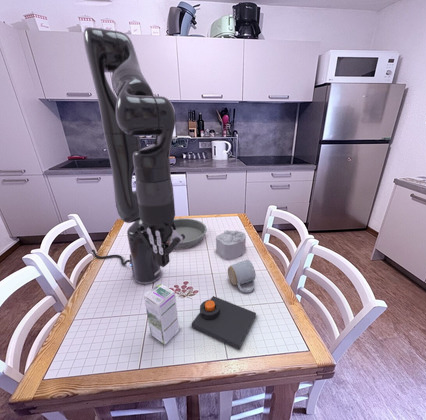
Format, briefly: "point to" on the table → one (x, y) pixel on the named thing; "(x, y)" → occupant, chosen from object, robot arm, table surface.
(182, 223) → the cake pan
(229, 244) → the lumpy-topped squat cylinder
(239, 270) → the ceramic mug
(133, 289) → the table surface
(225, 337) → the black button base
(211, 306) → the button
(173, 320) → the syrup box
